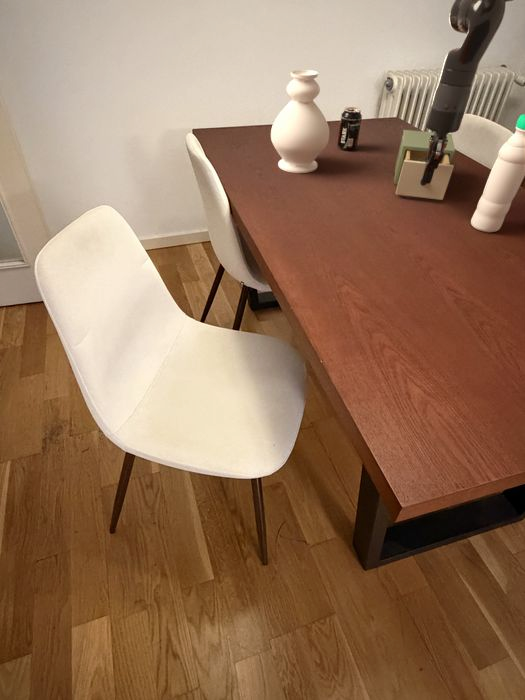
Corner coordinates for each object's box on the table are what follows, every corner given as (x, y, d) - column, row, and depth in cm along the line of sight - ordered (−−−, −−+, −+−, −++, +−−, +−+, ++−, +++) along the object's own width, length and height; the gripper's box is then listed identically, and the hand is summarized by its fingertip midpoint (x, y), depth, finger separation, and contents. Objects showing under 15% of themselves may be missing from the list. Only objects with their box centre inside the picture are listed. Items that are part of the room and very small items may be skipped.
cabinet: (442, 190, 117) (455, 150, 109) (393, 184, 119) (403, 145, 111) (439, 171, 127) (451, 134, 119) (395, 166, 129) (404, 129, 122)
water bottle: (499, 235, 98) (553, 122, 80) (469, 230, 100) (515, 118, 82) (499, 223, 103) (549, 113, 85) (469, 218, 104) (513, 109, 87)
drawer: (442, 201, 109) (454, 168, 103) (395, 196, 111) (403, 162, 105) (440, 180, 119) (450, 148, 113) (397, 175, 121) (404, 144, 115)
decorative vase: (332, 161, 132) (344, 69, 114) (314, 180, 120) (324, 82, 103) (282, 152, 137) (286, 63, 119) (261, 170, 125) (261, 75, 108)
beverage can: (336, 144, 143) (341, 106, 135) (355, 145, 143) (361, 106, 135) (337, 151, 138) (343, 112, 130) (357, 151, 138) (364, 112, 130)
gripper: (468, 115, 86) (442, 194, 98) (463, 100, 95) (439, 174, 107) (432, 112, 87) (410, 190, 100) (430, 97, 96) (410, 171, 109)
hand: (425, 182), depth 104 cm, fingers closed
